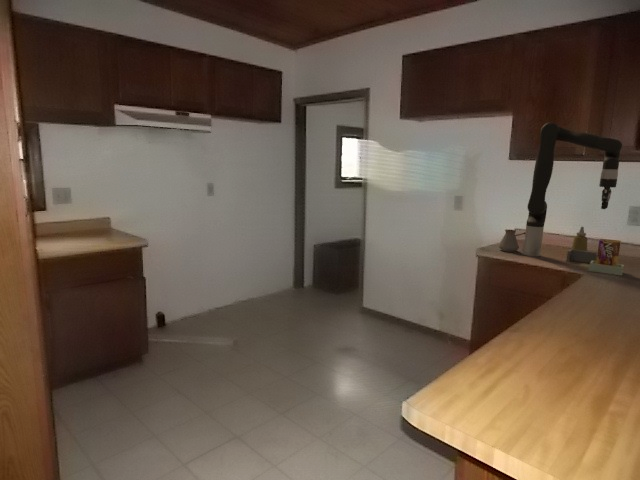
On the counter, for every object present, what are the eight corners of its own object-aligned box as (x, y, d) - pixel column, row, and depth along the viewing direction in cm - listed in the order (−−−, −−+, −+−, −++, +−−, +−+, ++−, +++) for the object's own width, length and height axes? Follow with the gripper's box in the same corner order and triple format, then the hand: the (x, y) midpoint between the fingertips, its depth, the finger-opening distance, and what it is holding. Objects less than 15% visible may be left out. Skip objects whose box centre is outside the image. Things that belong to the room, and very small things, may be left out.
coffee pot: (497, 251, 260) (499, 226, 257) (499, 248, 270) (501, 224, 267) (536, 255, 250) (539, 230, 247) (536, 252, 260) (539, 228, 257)
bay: (566, 261, 236) (567, 251, 235) (568, 259, 242) (569, 249, 241) (596, 266, 227) (598, 255, 226) (598, 263, 233) (600, 252, 232)
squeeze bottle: (581, 256, 253) (586, 226, 250) (588, 259, 245) (593, 228, 242) (567, 255, 254) (571, 225, 251) (574, 258, 246) (578, 227, 243)
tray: (588, 270, 216) (589, 263, 215) (590, 267, 222) (591, 260, 222) (621, 275, 208) (622, 267, 207) (622, 272, 214) (623, 264, 214)
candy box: (616, 270, 214) (621, 240, 211) (616, 271, 211) (620, 241, 208) (595, 267, 219) (600, 238, 217) (594, 268, 216) (599, 239, 213)
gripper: (601, 177, 235) (597, 207, 237) (599, 177, 223) (594, 208, 226) (618, 178, 230) (613, 208, 233) (616, 178, 219) (611, 210, 222)
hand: (604, 208), depth 230 cm, fingers open, 8 cm apart
